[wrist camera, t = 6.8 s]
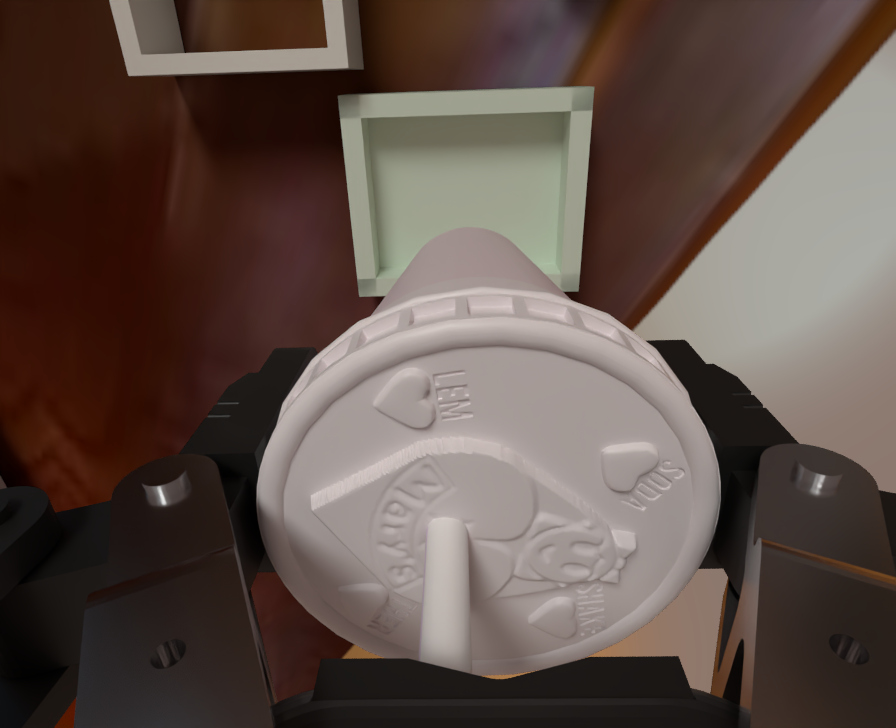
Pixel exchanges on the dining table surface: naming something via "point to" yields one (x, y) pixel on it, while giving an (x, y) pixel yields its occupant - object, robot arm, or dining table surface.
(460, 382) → the smoothie
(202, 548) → the robot arm
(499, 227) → the tray
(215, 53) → the hollow square frame
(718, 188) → the dining table surface
